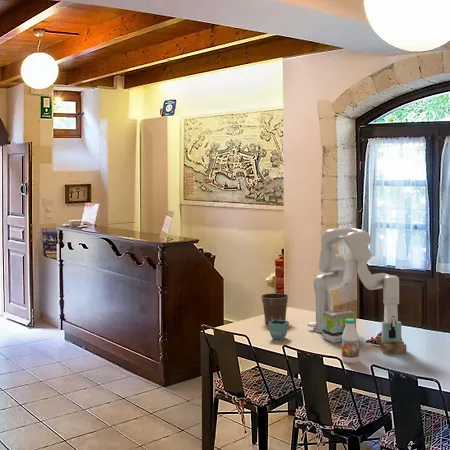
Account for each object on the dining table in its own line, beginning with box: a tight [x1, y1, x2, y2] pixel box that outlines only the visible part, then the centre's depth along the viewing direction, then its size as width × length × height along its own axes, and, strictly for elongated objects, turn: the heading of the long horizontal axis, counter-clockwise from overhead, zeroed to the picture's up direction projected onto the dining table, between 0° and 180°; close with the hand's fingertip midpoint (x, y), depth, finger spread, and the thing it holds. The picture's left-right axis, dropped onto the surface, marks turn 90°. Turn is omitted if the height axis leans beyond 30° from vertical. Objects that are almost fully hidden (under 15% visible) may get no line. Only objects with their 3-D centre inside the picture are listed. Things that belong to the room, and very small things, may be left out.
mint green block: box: [381, 321, 402, 342], centre depth 304 cm, size 9×3×10 cm, turn 87°
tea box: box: [322, 308, 357, 344], centre depth 324 cm, size 15×10×15 cm
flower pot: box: [267, 320, 290, 341], centre depth 328 cm, size 9×9×9 cm
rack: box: [376, 335, 407, 355], centre depth 304 cm, size 11×16×4 cm
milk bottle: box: [341, 318, 360, 364], centre depth 286 cm, size 8×8×20 cm
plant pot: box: [260, 292, 289, 324], centre depth 362 cm, size 16×16×16 cm
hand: (391, 336), depth 304 cm, fingers closed on mint green block, 3 cm apart
